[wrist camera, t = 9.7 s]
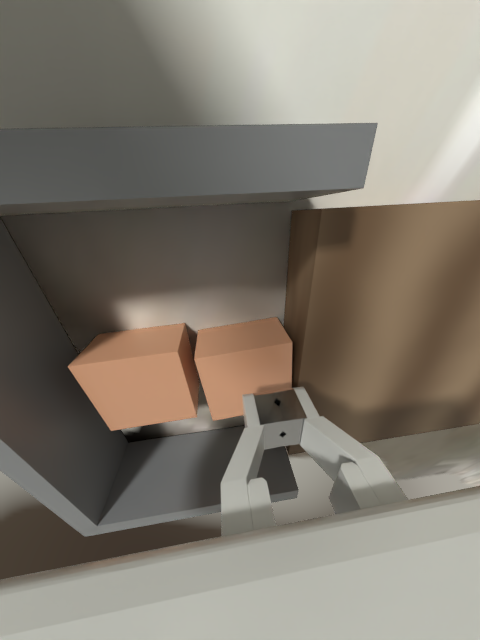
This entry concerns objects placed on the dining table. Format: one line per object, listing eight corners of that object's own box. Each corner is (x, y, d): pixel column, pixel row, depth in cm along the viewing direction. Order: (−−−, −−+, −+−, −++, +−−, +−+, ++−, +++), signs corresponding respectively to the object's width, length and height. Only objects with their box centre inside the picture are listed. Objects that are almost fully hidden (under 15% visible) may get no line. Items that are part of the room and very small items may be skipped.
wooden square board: (570, 195, 11) (685, 189, 8) (440, 394, 18) (478, 423, 16) (291, 210, 9) (321, 209, 7) (277, 418, 17) (288, 454, 14)
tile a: (275, 315, 12) (292, 342, 10) (277, 372, 15) (291, 406, 12) (198, 328, 12) (194, 358, 10) (213, 383, 15) (213, 420, 12)
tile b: (67, 366, 9) (100, 332, 11) (111, 430, 11) (130, 390, 14) (177, 351, 9) (185, 321, 12) (197, 417, 12) (199, 379, 14)
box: (294, 169, 9) (377, 122, 4) (276, 428, 18) (296, 498, 14) (-55, 182, 7) (-431, 136, 3) (118, 452, 17) (84, 536, 12)
